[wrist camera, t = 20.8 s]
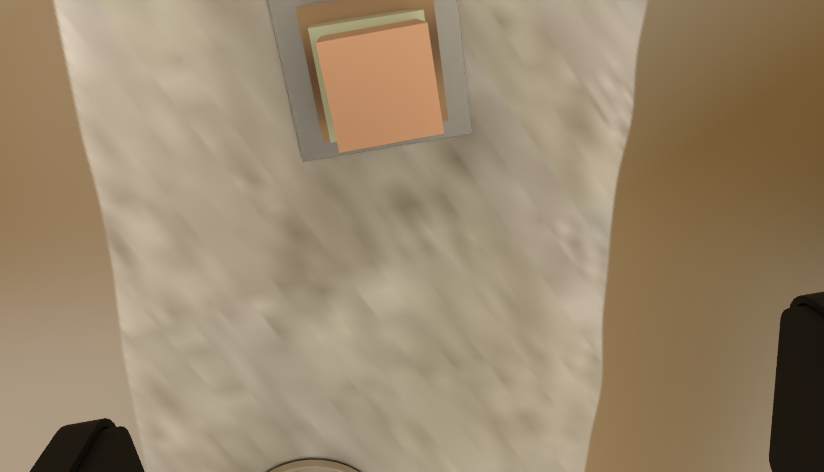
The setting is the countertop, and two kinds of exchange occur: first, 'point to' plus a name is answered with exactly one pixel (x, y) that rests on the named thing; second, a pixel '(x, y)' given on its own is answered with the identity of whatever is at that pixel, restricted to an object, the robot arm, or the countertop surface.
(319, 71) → the sage brick
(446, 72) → the build plate
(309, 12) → the walnut brick
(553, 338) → the countertop surface
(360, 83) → the terracotta brick
